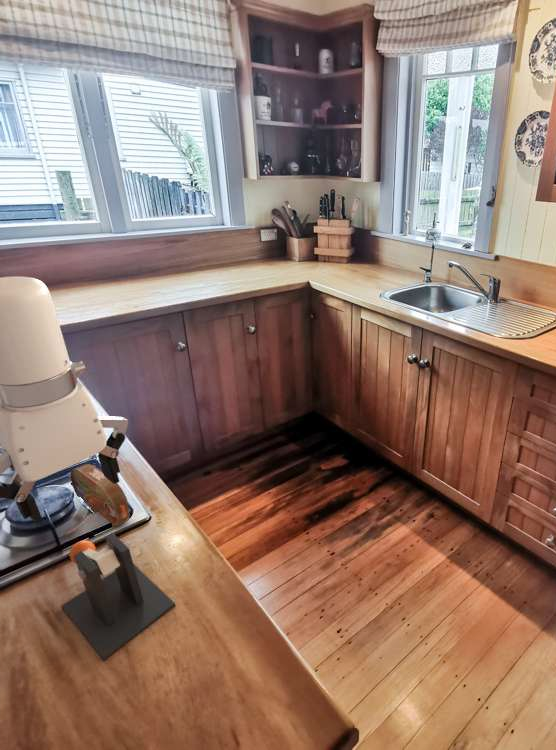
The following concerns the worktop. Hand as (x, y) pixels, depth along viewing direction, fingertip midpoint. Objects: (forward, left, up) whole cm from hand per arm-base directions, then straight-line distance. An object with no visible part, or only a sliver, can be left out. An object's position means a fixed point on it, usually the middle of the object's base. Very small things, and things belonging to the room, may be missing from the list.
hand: (75, 497), depth 62 cm
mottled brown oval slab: (-7, +15, -17) cm, 24 cm away
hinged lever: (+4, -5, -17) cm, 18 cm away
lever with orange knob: (+2, -2, -10) cm, 11 cm away
